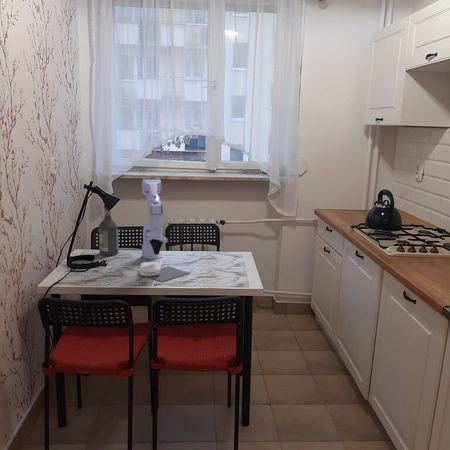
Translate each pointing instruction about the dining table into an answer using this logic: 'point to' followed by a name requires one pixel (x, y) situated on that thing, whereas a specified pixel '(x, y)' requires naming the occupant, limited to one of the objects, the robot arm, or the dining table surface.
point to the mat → (168, 274)
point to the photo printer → (150, 269)
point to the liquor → (108, 235)
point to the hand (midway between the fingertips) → (156, 254)
